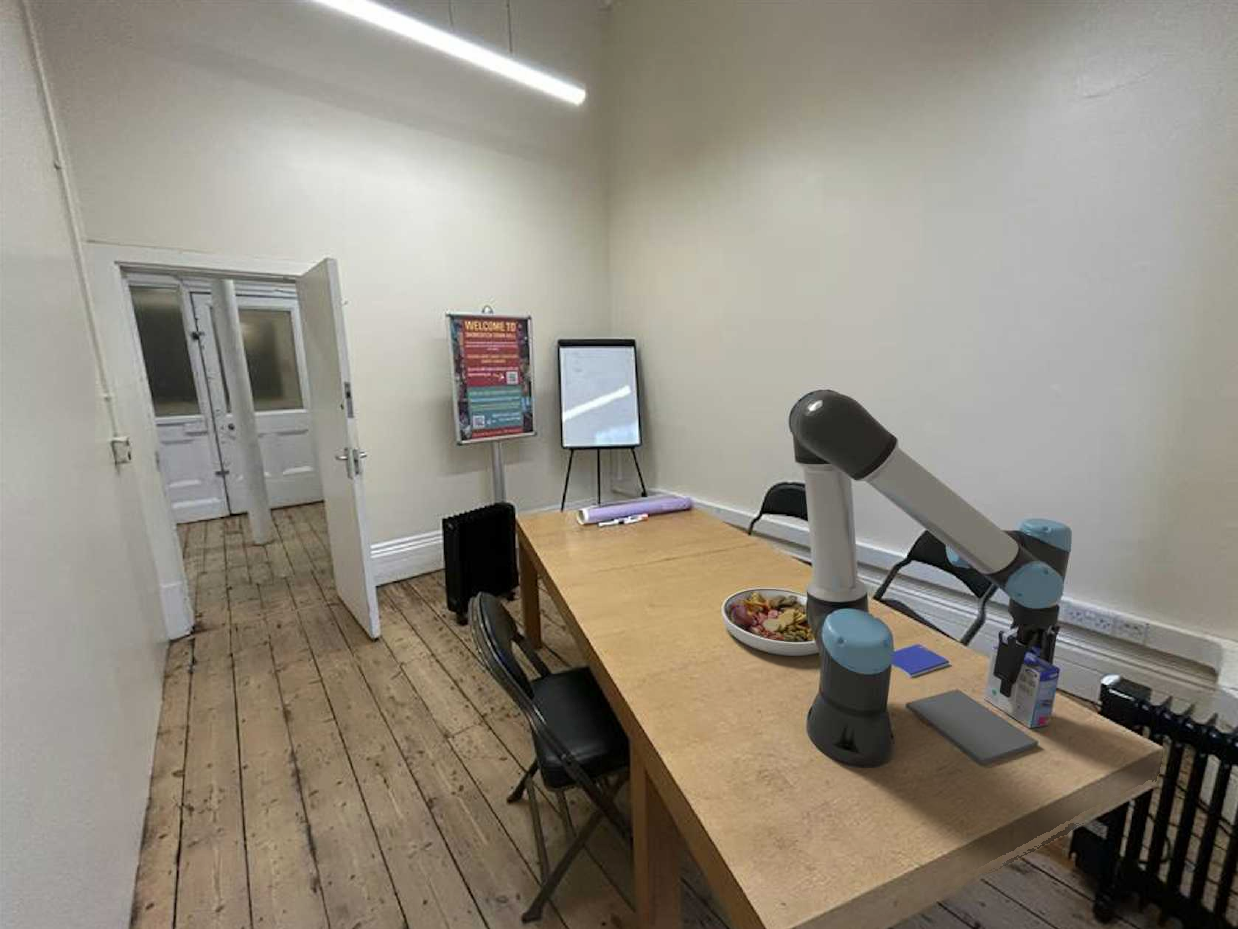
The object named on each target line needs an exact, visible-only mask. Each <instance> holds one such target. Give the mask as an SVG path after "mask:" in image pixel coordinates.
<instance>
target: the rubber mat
mask: <svg viewBox="0 0 1238 929" xmlns="http://www.w3.org/2000/svg"><path fill="white" fill-rule="evenodd" d="M905 708H906V709H907V710H908V711H910V712H911V713H912V714H913V715H915V716H916V717H917V718H919V719H920V720H921V721H923V722H924V723H925V724H927V725H928V726H930V728H932V729H933V730H934V731H936V732H937V733H939V735H941V736H942V737H944V738H945V739H946V740H947V741H949V742H950V743H952V745H954V746H955V747H956V748H958V749H959V750H961V751H962V752H963V753H964V754H966V755H967V756H969V757H970V758H971V759H972V760H973V761H975V762H976V763H977V764H979V765H981V766H982V765H986V764H989V763H992V762H994V761H998V760H1000V759H1003V758H1006V757H1009V756H1012V755H1015V754H1018V753H1021V752H1023V751H1027V750H1029V749H1033V748H1036V747H1038V745H1039V741H1038V740H1037V739H1035V738H1034V737H1032V736H1031V735H1029V734H1028V733H1026V732H1024V730H1021V729H1020V728H1018V727H1017V726H1016V725H1014V724H1012V723H1010V721H1008V720H1006V719H1005V718H1003V717H1001V715H998V714H997V713H995V712H993V711H992V710H990V709H989V708H987V707H986V706H984V705H983V704H981V703H980V702H978V701H976V700H975V699H974V698H973V697H971V696H969V695H968V694H966V693H965V692H963V691H962V690H960V689H958V688H956V689H954V690H953V689H952V690H950V691H946V692H942V693H938V694H935V695H932V696H928V697H924V698H920V699H916V700H914V701H913V700H912V701H910V702H906V703H905Z"/></svg>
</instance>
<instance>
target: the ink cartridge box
mask: <svg viewBox="0 0 1238 929" xmlns="http://www.w3.org/2000/svg"><path fill="white" fill-rule="evenodd" d="M1019 644H1020V643H1019ZM1020 645H1022V644H1020ZM1022 646H1024V645H1022ZM1024 647H1025V646H1024ZM1031 649H1033V650H1034V651H1035V652H1036V654H1032V653H1030V652H1027V653H1026V656H1025V659H1024V661H1023V664H1022V667H1021V669H1020V672H1019V675H1018V677H1017V680H1016V682H1017V683H1019V687H1018V693H1017V699H1016V705H1015V711H1014V713H1012V714H1011V713H1010V712H1008V711H1007V710H1005V709H1003V708H1002V707H1000V706H999V705H998V700H999V694H1000V685H1001V680H1000V679H999V678H997V677H995V676H994V675H993V672H994V667H995V661H996V656H997V651H998V645H997V646H992V647H991V653H990V660H989V664H988V671H987V676H986V677H987V678H986V682H985V683H986V684H985V688H984V689H985V690H984V694H983V699H984V700H986V701H987V702H989V703H990V704H992V705H993V706H995V707H996V708H998V709H999V710H1001V711H1002V712H1003V713H1006V715H1009V717H1012V718H1013V719H1015V720H1016V721H1018V722H1019V723H1020V724H1022V725H1024V726H1026V727H1027V728H1029V729H1033V728H1039V727H1045V726H1049V725H1051V724H1050V723H1051V719H1052V713H1053V707H1054V701H1055V698H1056V692H1057V686H1058V681H1059V677H1060V676H1059V675H1060V671H1061V668H1059V666H1056V665H1054V664H1050V663H1048V662H1046V661H1044V660H1042V659H1040V658H1038V656H1039V655H1040V653H1041V651H1042V650H1041V649H1039V648H1037V647H1035V646H1032V648H1031Z"/></svg>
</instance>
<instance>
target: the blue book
mask: <svg viewBox="0 0 1238 929" xmlns="http://www.w3.org/2000/svg"><path fill="white" fill-rule="evenodd" d="M949 663H950V661H949V660H948V659H946V658H944V657H943V656H941V655H940V654H937V653H936V652H934V651H933V650H930V649H928V647H927V648H926V647H925V646H924V645H922V644H919V643H917V644H914V645H910V646H908V647H907V646H906V647H904V648H900V649H897V650H894V656H893V660H892V667H893V668H894V669H896V670H898V671H900V672H901V673H902V674H904V675H905V676H907V677H909V678H913V677H916V676H919V675H922V674H925V673H928V672H931V671H935V670H937V669H940V668H942V667H946V666H948V665H950V664H949Z"/></svg>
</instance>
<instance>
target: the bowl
mask: <svg viewBox="0 0 1238 929" xmlns="http://www.w3.org/2000/svg"><path fill="white" fill-rule="evenodd" d="M806 600H807V593H806V594H805V593H803V592H798V591H797V590H795V591H794V590H790V589H786V588H785V589H784V588H776V587H756V588H755V587H754V588H749V589H747V588H746V589H743V590H740V591H736V592H735V593H732V594H730V595H729V596H728V597H727V598H725V599H724V601H723V602H722V604H721V605H722V606H721V619H722V621H723V623H724V625H725V627H726V629H727V630H728V631H729V633H730V634H731V635H733V636H734V638H736V639H737V640H738V641H740V642H742V643H743V644H745V645H746V646H748V647H750V648H752V649H754V650H755V649H756V650H758V651H761V652H765V653H768V654H773V655H777V656H779V655H780V656H786V657H787V656H789V657H800V656H809V655H810V656H811V655H814V654H818V653H819V651H818V648H817V645H816V642H815V639H814V636H813V634H812V631H811V628H810V626H809V624H808V621H807V618H806V613H805V608H806Z"/></svg>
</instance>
